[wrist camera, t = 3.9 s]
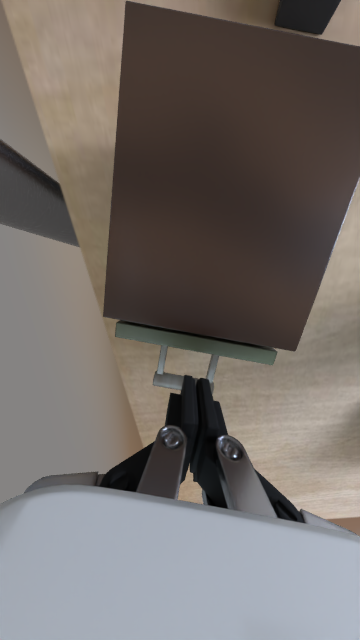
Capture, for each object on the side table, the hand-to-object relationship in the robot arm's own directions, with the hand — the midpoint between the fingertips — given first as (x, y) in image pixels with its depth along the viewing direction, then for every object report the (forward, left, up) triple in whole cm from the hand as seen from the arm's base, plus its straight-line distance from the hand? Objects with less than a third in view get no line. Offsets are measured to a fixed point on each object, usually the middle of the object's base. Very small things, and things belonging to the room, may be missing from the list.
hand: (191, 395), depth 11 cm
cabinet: (0, +12, -10) cm, 16 cm away
